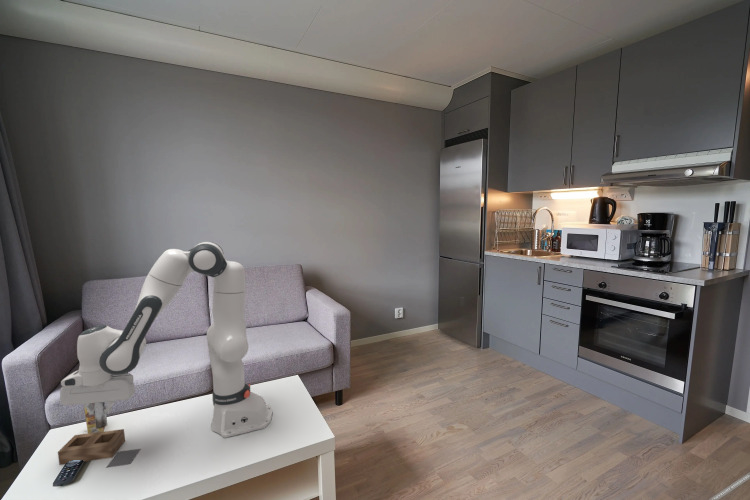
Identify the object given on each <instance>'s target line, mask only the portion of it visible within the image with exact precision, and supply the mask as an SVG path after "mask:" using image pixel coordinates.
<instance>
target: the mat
mask: <svg viewBox="0 0 750 500" xmlns="http://www.w3.org/2000/svg"><path fill="white" fill-rule="evenodd" d="M140 451H141V448H137V449H128V450H122V451H117V452H116V453H115V455H114V456H113V457H112V458H111V460H110V461H109V463H108V464H107V466H106V467H105V468H106V469H107V468H113V467H120V466H121V467H122V466H127V465H132V463H133V461H134V460H135V459H136V457H137V455H138V454H139V452H140Z"/></svg>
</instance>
